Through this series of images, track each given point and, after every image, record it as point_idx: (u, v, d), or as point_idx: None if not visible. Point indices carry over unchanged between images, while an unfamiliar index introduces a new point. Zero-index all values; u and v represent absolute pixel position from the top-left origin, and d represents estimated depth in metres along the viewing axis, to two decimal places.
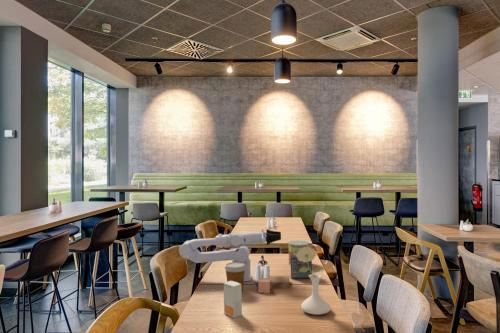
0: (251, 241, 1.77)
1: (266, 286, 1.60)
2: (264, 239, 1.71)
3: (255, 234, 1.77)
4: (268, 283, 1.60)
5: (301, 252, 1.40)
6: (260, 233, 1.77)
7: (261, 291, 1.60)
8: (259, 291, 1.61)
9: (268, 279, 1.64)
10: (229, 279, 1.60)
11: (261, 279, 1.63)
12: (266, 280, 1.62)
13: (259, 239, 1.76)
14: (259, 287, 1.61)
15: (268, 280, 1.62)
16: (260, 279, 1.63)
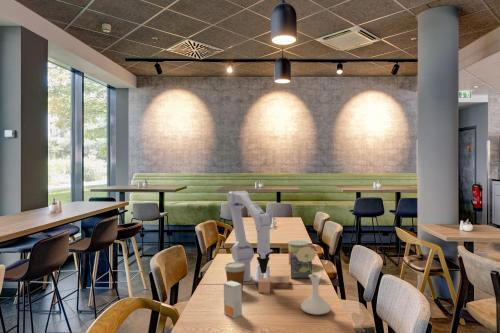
0: (257, 238, 1.62)
1: (266, 286, 1.60)
2: (263, 257, 1.55)
3: (267, 243, 1.61)
4: (268, 283, 1.60)
5: (301, 252, 1.40)
6: (268, 249, 1.61)
7: (261, 291, 1.60)
8: (259, 291, 1.61)
9: (268, 279, 1.64)
10: (229, 279, 1.60)
11: (261, 279, 1.63)
12: (266, 280, 1.62)
13: (262, 248, 1.60)
14: (259, 287, 1.61)
15: (268, 280, 1.62)
16: (260, 279, 1.63)
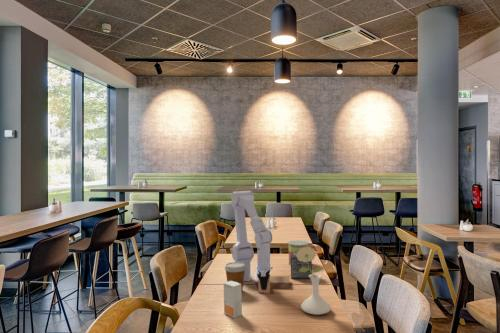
0: (257, 255, 1.62)
1: None
2: (263, 275, 1.56)
3: (268, 261, 1.61)
4: (268, 283, 1.60)
5: (301, 252, 1.40)
6: (268, 266, 1.61)
7: (261, 291, 1.60)
8: (259, 291, 1.61)
9: (268, 279, 1.64)
10: (229, 279, 1.60)
11: None
12: None
13: (262, 265, 1.60)
14: (259, 286, 1.61)
15: (268, 280, 1.62)
16: None
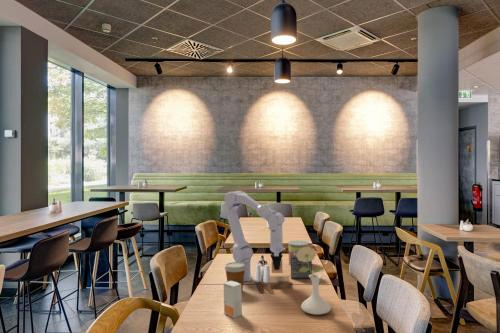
0: (271, 237, 1.67)
1: None
2: (277, 254, 1.62)
3: (280, 242, 1.67)
4: (281, 263, 1.66)
5: (301, 252, 1.40)
6: (281, 247, 1.67)
7: (274, 271, 1.67)
8: (272, 271, 1.67)
9: None
10: (229, 279, 1.60)
11: None
12: None
13: (275, 246, 1.66)
14: (272, 267, 1.67)
15: (281, 261, 1.68)
16: None
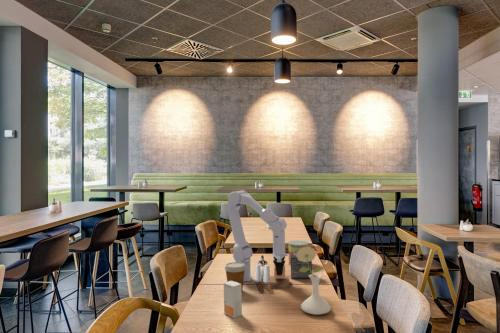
0: (274, 243, 1.68)
1: None
2: (279, 260, 1.63)
3: (283, 248, 1.68)
4: (284, 269, 1.68)
5: (301, 252, 1.40)
6: (283, 253, 1.68)
7: (277, 277, 1.68)
8: (275, 277, 1.68)
9: None
10: (229, 279, 1.60)
11: None
12: None
13: (278, 252, 1.67)
14: (275, 272, 1.68)
15: (283, 266, 1.69)
16: None
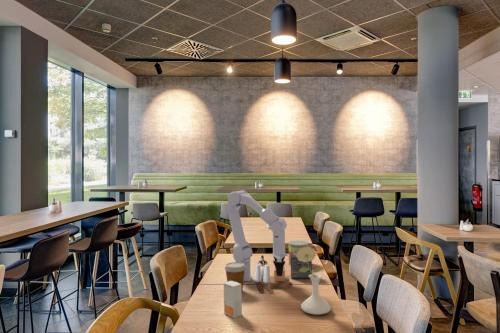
0: (274, 243, 1.68)
1: None
2: (279, 260, 1.63)
3: (283, 248, 1.68)
4: (283, 272, 1.68)
5: (301, 252, 1.40)
6: (283, 253, 1.68)
7: (277, 279, 1.68)
8: (275, 279, 1.68)
9: (283, 268, 1.71)
10: (229, 279, 1.60)
11: None
12: None
13: (278, 252, 1.67)
14: (275, 275, 1.68)
15: (283, 269, 1.69)
16: (275, 268, 1.71)
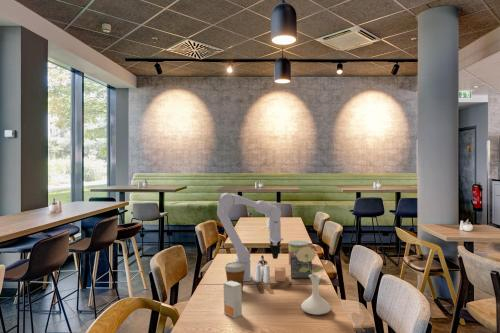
0: (273, 228, 1.79)
1: (282, 275, 1.68)
2: (275, 244, 1.74)
3: (279, 232, 1.79)
4: (284, 272, 1.68)
5: (301, 252, 1.40)
6: (279, 237, 1.80)
7: (277, 280, 1.68)
8: (275, 280, 1.68)
9: (284, 268, 1.71)
10: (229, 279, 1.60)
11: (277, 268, 1.71)
12: (282, 269, 1.69)
13: (274, 236, 1.79)
14: (275, 275, 1.68)
15: (284, 269, 1.69)
16: (276, 268, 1.71)
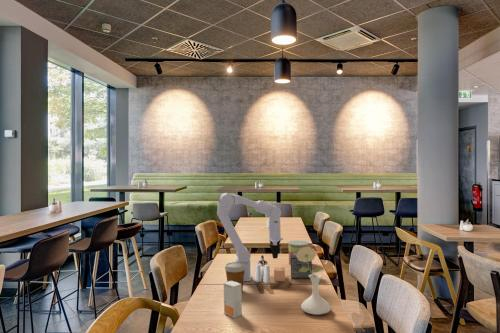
0: (273, 228, 1.80)
1: (281, 275, 1.68)
2: (275, 243, 1.75)
3: (278, 232, 1.80)
4: (283, 272, 1.68)
5: (301, 252, 1.40)
6: (279, 237, 1.80)
7: (277, 279, 1.68)
8: (275, 279, 1.68)
9: (283, 268, 1.71)
10: (229, 279, 1.60)
11: (276, 268, 1.71)
12: (281, 269, 1.69)
13: (274, 236, 1.79)
14: (275, 275, 1.68)
15: (283, 269, 1.69)
16: (276, 268, 1.71)
